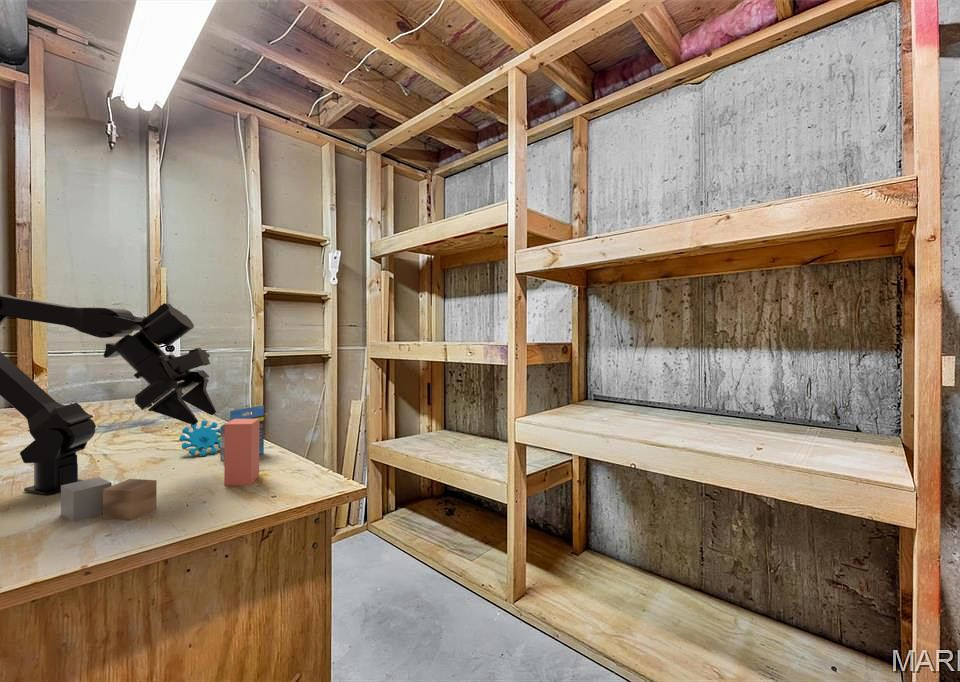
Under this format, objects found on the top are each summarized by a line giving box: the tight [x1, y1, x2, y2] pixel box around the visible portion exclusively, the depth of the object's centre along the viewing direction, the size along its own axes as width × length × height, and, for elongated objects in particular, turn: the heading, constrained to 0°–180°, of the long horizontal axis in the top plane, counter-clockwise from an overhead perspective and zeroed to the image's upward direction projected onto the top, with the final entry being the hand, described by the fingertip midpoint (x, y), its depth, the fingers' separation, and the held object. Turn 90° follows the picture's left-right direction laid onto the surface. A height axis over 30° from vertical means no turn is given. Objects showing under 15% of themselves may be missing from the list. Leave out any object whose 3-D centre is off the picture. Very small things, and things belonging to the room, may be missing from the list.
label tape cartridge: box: [219, 405, 265, 462], centre depth 104 cm, size 9×4×12 cm, turn 152°
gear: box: [179, 419, 221, 457], centre depth 108 cm, size 11×6×10 cm
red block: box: [223, 419, 260, 487], centre depth 89 cm, size 5×5×12 cm
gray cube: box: [60, 476, 113, 523], centre depth 73 cm, size 5×5×5 cm
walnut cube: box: [102, 478, 158, 521], centre depth 73 cm, size 5×5×5 cm
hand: (205, 418), depth 88 cm, fingers open, 9 cm apart
